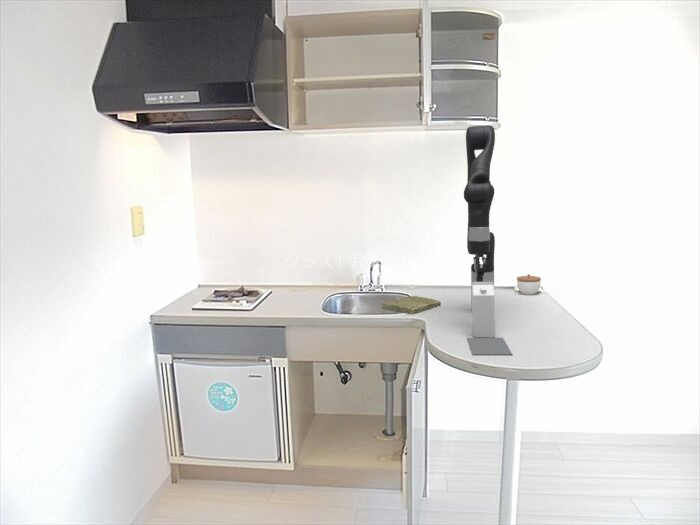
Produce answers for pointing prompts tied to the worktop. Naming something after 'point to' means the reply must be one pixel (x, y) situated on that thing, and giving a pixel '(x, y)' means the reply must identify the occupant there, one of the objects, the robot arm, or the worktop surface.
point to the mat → (488, 346)
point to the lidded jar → (528, 284)
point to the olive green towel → (410, 304)
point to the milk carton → (483, 309)
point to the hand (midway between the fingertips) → (479, 286)
